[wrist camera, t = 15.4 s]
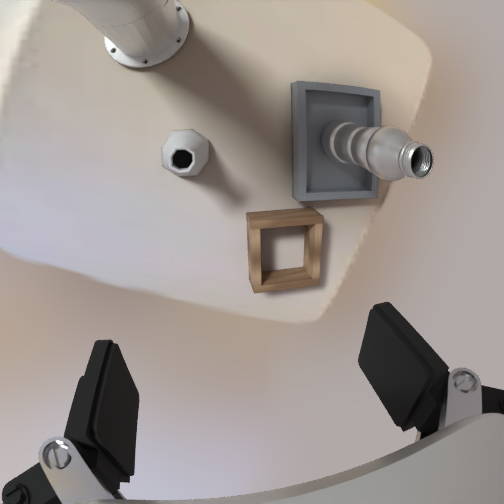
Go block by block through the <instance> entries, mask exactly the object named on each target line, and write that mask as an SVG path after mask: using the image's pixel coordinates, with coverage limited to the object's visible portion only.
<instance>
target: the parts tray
mask: <svg viewBox="0 0 504 504" xmlns="http://www.w3.org/2000/svg"><path fill="white" fill-rule="evenodd" d="M291 106H292V169H293V195H292V197H294V198H295V199H296V200H297V201H315V200H334V199H357V198H377V190H378V177H377V176H376V175H374V174H373V173H372V172H370V171H369V170H367V169H365V168H363V167H361V166H359V165H357V164H351V163H339V162H336V161H334V160H332V159H331V158H330V157H329V156H328V155H327V154H326V153H325V151H324V149H323V146H322V136H323V133H324V131H325V129H326V128H327V127H328V126H329V125H330V124H331V123H333V122H336V121H340V120H347V121H350V122H353V123H355V124H357V125H360V126H364V127H380V91H379V90H374V89H367V88H361V87H354V86H346V85H338V84H329V83H318V82H305V81H296V82H293V83H291Z"/></svg>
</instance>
